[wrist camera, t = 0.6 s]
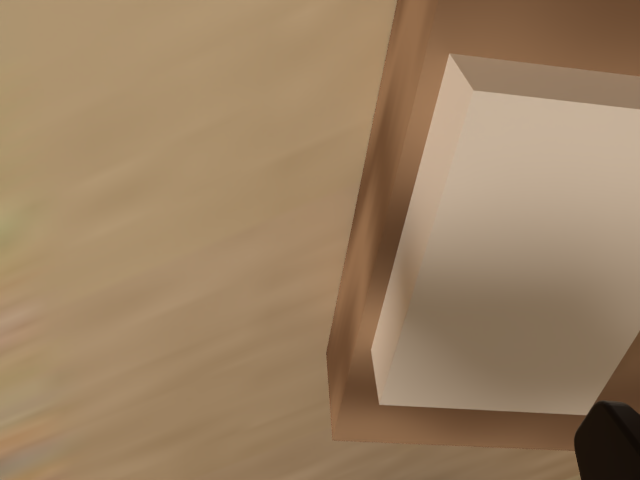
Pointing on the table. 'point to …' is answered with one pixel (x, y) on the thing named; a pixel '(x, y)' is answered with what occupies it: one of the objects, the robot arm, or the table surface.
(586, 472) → the robot arm
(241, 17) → the table surface
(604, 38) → the brown wooden block
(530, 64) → the tile
